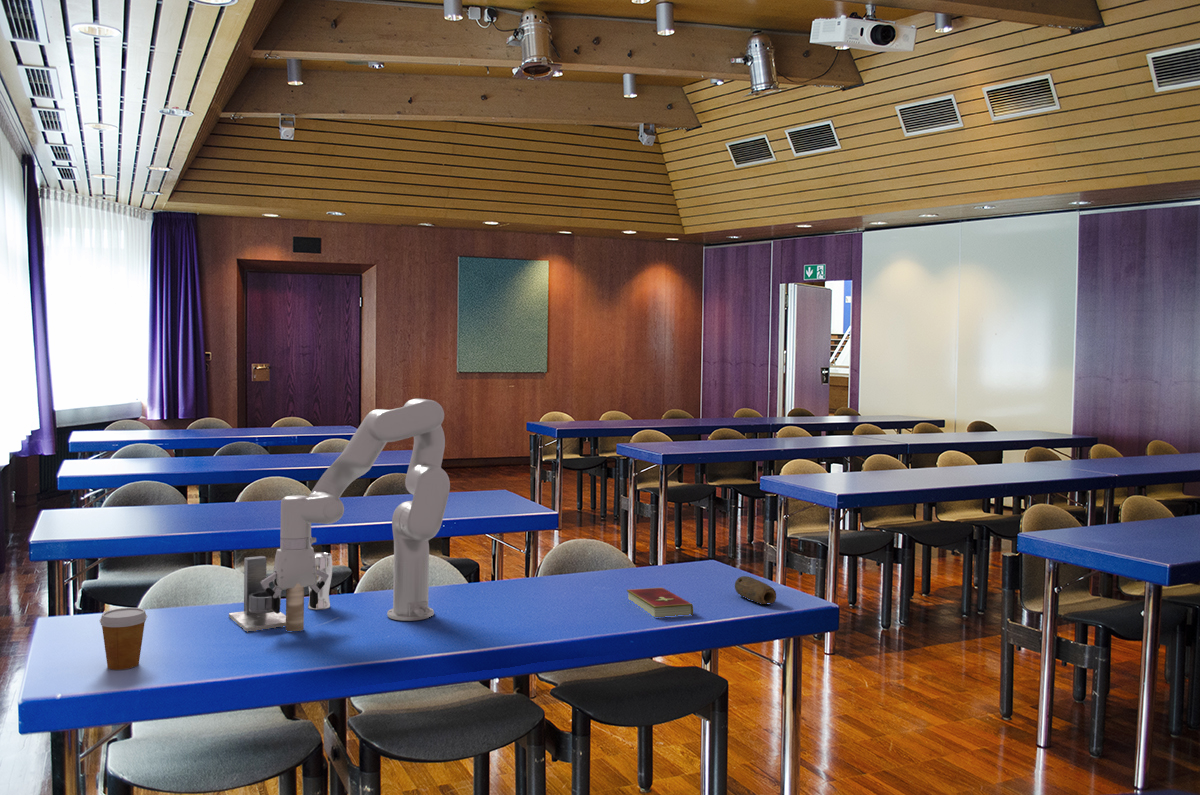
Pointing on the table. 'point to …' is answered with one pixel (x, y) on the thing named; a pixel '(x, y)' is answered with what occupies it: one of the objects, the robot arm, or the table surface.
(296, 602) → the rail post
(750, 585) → the stone weight
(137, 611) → the disposable coffee cup
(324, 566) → the beer glass
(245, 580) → the cup bracket
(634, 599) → the hardcover book
